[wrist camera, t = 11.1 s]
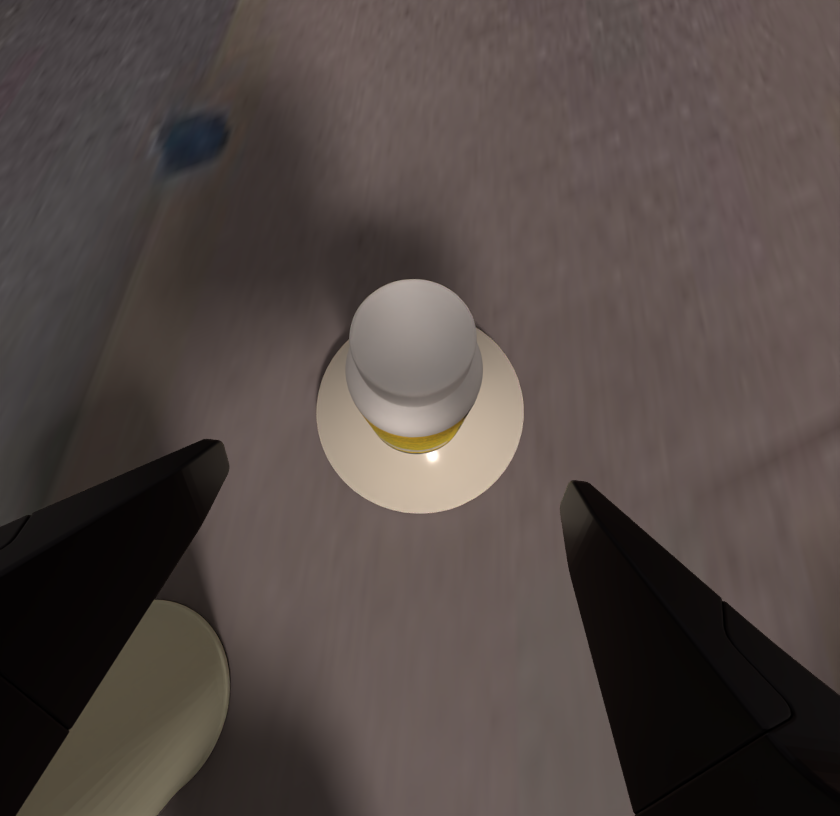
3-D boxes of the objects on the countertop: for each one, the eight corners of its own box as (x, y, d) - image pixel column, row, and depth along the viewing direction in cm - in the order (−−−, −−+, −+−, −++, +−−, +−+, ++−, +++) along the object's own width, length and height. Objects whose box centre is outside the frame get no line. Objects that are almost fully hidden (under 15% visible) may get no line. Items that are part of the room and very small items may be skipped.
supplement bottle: (468, 452, 20) (509, 416, 10) (371, 458, 20) (321, 427, 10) (459, 361, 21) (490, 253, 11) (369, 367, 21) (322, 263, 11)
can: (58, 836, 17) (-777, 1625, 5) (45, 631, 19) (-574, 861, 7) (247, 768, 17) (-125, 1346, 6) (214, 575, 19) (-106, 706, 8)
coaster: (558, 445, 21) (565, 443, 20) (380, 553, 19) (377, 557, 18) (453, 288, 23) (454, 279, 22) (288, 375, 22) (282, 370, 21)
